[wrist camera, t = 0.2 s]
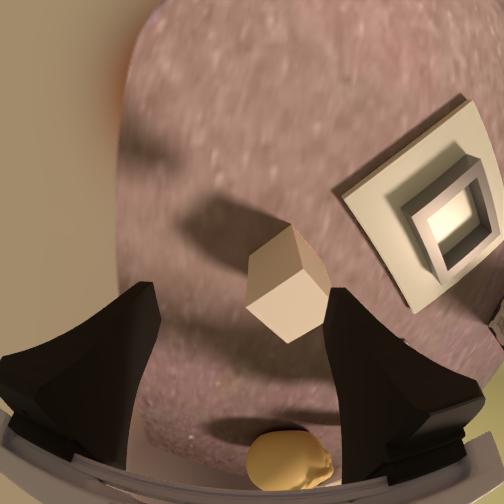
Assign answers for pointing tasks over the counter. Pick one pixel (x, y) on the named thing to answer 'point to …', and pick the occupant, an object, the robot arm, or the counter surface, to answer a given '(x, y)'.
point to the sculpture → (288, 461)
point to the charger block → (287, 285)
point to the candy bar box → (498, 324)
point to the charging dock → (434, 206)
